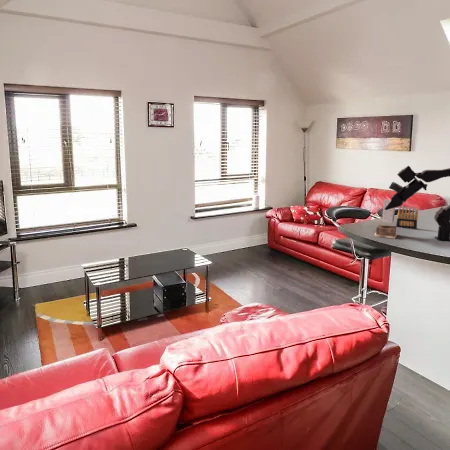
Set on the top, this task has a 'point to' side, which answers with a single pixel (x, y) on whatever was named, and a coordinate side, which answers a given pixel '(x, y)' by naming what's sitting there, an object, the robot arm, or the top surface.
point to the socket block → (386, 231)
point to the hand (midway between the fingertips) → (386, 208)
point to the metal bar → (388, 213)
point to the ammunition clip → (407, 218)
